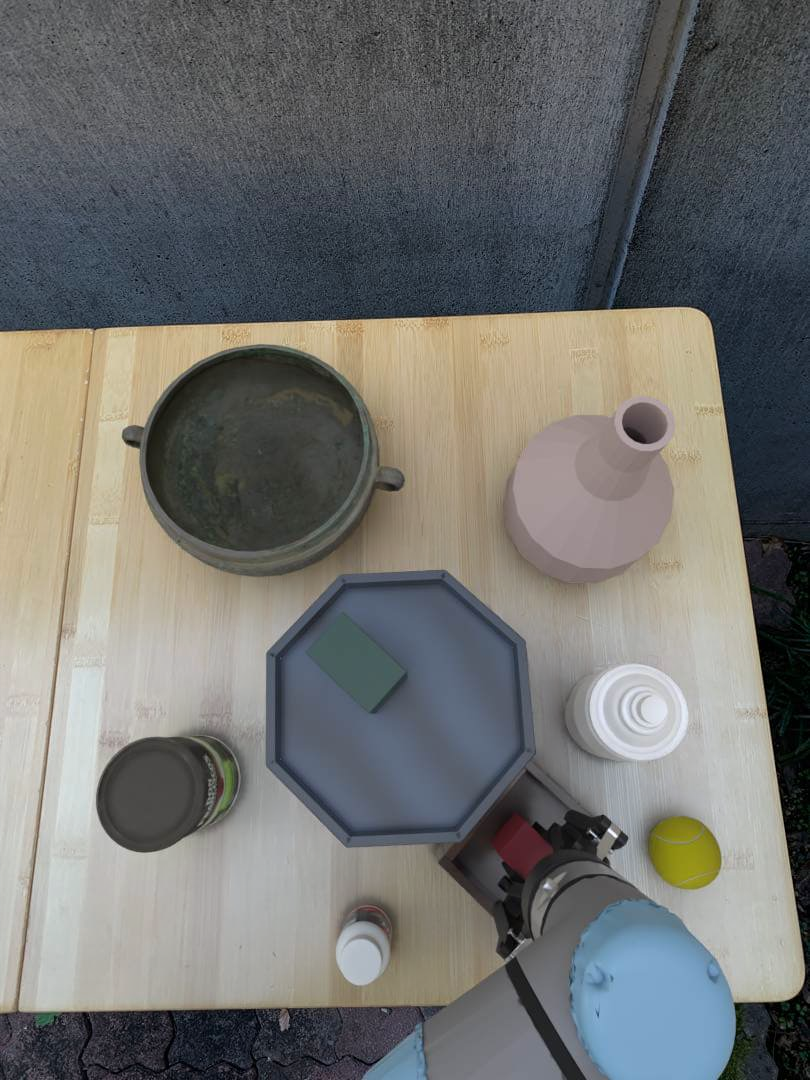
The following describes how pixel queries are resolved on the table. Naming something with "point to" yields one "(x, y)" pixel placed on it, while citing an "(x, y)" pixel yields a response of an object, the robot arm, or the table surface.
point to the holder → (476, 855)
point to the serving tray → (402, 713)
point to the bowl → (260, 460)
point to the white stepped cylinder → (627, 713)
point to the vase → (592, 492)
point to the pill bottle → (364, 945)
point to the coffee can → (166, 790)
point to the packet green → (357, 664)
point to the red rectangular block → (520, 845)
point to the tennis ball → (685, 852)
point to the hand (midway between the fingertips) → (529, 852)
